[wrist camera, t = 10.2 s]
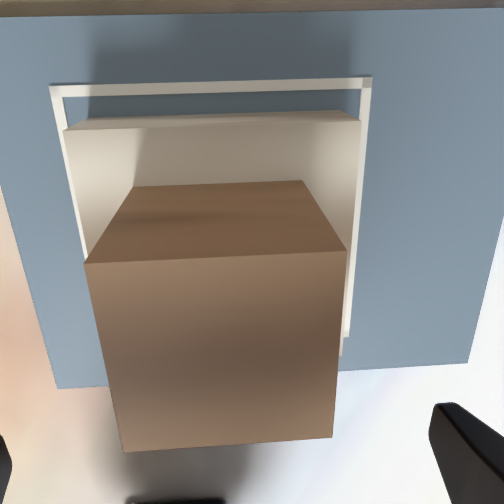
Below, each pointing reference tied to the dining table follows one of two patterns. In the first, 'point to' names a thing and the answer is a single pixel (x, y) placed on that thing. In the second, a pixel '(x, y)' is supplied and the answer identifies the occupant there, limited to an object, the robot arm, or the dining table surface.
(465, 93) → the board
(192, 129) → the plinth
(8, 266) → the dining table surface
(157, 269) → the walnut cube
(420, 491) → the dining table surface
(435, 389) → the dining table surface
